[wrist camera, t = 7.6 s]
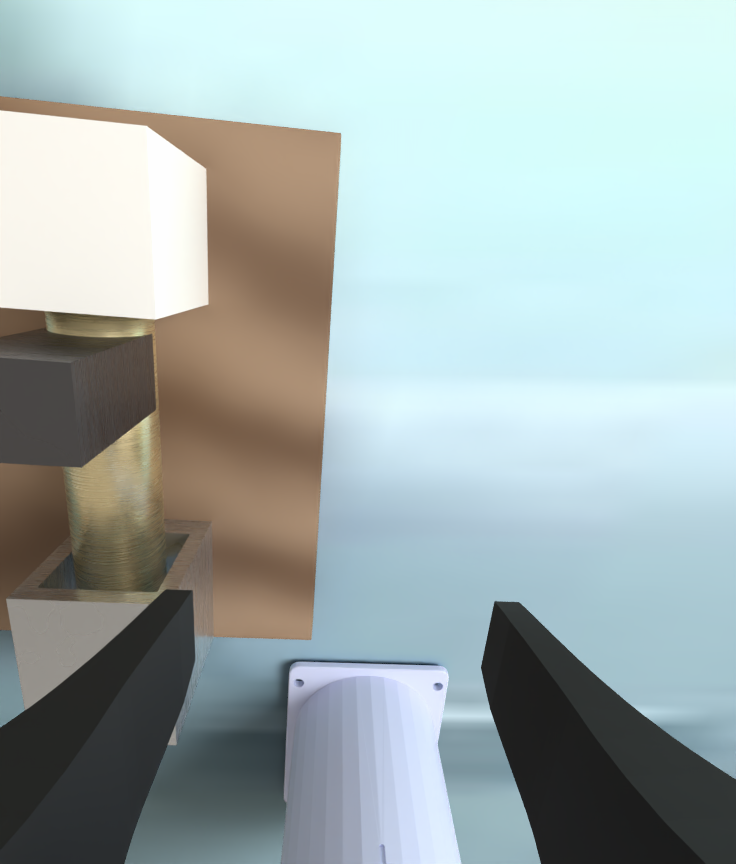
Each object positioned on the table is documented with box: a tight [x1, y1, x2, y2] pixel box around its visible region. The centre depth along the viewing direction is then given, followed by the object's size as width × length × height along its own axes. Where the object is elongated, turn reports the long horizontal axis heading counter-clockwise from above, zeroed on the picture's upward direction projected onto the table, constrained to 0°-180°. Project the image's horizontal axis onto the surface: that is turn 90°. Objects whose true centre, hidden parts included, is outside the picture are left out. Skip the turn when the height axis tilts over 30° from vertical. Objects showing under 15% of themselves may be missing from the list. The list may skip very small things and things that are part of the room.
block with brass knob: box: [0, 311, 167, 592], centre depth 15 cm, size 14×3×7 cm, turn 175°
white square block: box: [0, 110, 208, 320], centre depth 15 cm, size 4×5×6 cm
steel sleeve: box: [6, 519, 214, 745], centre depth 19 cm, size 6×5×6 cm
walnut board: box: [0, 96, 341, 640], centre depth 20 cm, size 21×14×1 cm, turn 175°
